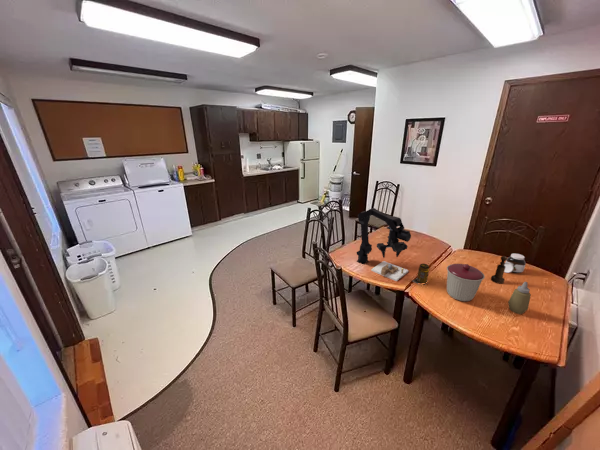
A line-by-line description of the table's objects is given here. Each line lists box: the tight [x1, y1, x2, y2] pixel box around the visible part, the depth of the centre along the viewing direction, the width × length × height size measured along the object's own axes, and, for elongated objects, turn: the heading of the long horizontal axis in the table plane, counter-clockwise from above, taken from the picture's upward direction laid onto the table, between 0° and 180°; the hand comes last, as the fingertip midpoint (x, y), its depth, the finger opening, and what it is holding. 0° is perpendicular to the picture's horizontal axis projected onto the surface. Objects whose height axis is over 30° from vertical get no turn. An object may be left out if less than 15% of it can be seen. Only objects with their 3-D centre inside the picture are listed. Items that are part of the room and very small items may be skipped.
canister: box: [446, 263, 486, 302], centre depth 139 cm, size 18×18×21 cm
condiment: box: [411, 263, 430, 285], centre depth 156 cm, size 7×8×12 cm
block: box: [380, 264, 398, 276], centre depth 167 cm, size 14×8×3 cm, turn 132°
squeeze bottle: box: [507, 281, 532, 315], centre depth 127 cm, size 8×8×18 cm
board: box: [371, 260, 409, 282], centre depth 170 cm, size 19×17×5 cm
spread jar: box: [504, 253, 527, 274], centre depth 164 cm, size 12×11×12 cm
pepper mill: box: [490, 255, 508, 284], centre depth 153 cm, size 7×6×18 cm
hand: (390, 257), depth 163 cm, fingers open, 9 cm apart
